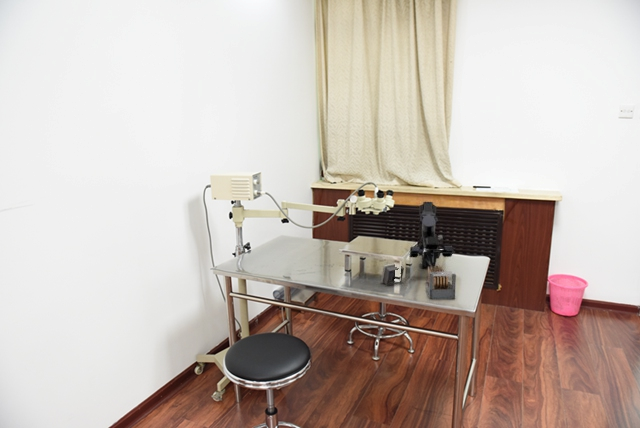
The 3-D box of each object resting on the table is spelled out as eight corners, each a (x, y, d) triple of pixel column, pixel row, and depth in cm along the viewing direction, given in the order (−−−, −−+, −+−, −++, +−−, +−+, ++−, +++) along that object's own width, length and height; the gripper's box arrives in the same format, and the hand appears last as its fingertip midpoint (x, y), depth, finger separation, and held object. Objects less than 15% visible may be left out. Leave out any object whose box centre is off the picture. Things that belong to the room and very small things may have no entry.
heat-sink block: (426, 283, 179) (427, 266, 178) (440, 283, 179) (441, 266, 177) (433, 296, 166) (433, 277, 164) (448, 296, 165) (448, 277, 163)
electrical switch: (398, 279, 186) (399, 260, 183) (404, 283, 181) (405, 264, 179) (380, 283, 182) (381, 263, 179) (386, 287, 178) (387, 268, 175)
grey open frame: (425, 290, 171) (425, 267, 169) (449, 290, 170) (450, 267, 168) (429, 299, 163) (430, 274, 161) (455, 299, 162) (455, 274, 160)
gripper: (410, 229, 181) (414, 260, 172) (453, 228, 179) (459, 260, 171) (407, 241, 190) (411, 272, 181) (448, 241, 188) (453, 271, 180)
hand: (433, 268), depth 178 cm, fingers closed, pressing on heat-sink block
